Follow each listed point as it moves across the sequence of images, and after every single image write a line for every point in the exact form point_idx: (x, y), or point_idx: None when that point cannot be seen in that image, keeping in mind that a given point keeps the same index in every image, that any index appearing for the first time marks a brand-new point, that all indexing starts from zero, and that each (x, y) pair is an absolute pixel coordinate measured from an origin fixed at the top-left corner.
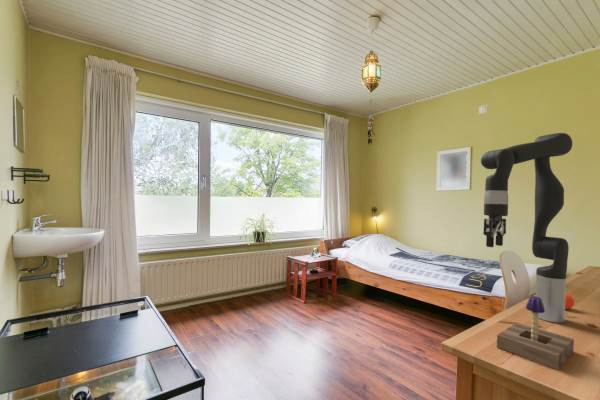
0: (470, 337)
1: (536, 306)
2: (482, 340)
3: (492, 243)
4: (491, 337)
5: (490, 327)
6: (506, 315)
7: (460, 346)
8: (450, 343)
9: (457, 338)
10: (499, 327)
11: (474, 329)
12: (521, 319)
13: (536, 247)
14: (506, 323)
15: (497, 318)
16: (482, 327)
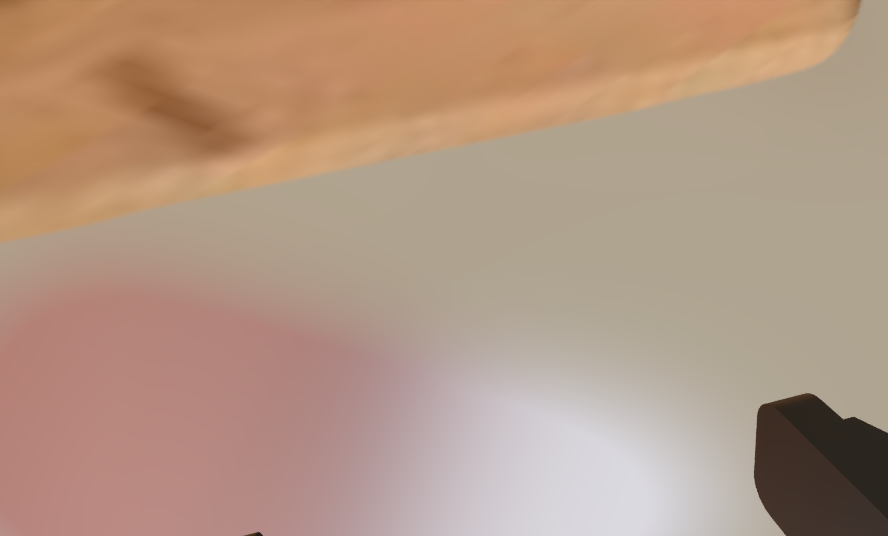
0: (657, 59)
1: None
2: (636, 3)
3: (864, 451)
4: (546, 6)
5: (398, 106)
6: (55, 201)
7: (812, 7)
8: (819, 54)
9: (731, 80)
10: (337, 82)
11: (525, 124)
12: (6, 111)
13: None
14: (214, 107)
15: (189, 187)
16: (448, 125)
